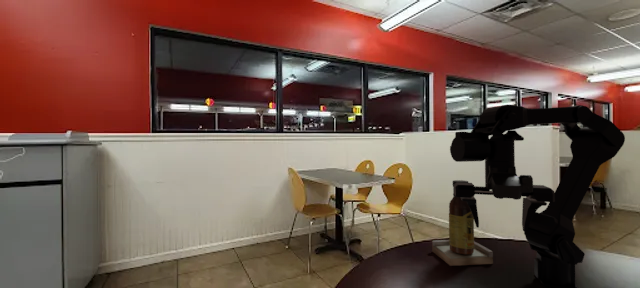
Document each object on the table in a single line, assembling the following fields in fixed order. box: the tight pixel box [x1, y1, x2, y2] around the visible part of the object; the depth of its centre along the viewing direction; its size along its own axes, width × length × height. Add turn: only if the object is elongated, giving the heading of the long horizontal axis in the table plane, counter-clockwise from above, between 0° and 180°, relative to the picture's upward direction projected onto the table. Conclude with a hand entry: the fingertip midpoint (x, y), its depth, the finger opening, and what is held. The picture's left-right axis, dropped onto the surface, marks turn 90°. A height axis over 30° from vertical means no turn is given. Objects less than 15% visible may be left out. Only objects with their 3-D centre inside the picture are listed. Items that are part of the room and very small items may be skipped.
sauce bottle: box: [448, 179, 475, 255], centre depth 78 cm, size 7×6×20 cm
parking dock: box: [431, 239, 494, 267], centre depth 80 cm, size 12×10×3 cm
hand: (500, 229), depth 64 cm, fingers open, 9 cm apart
